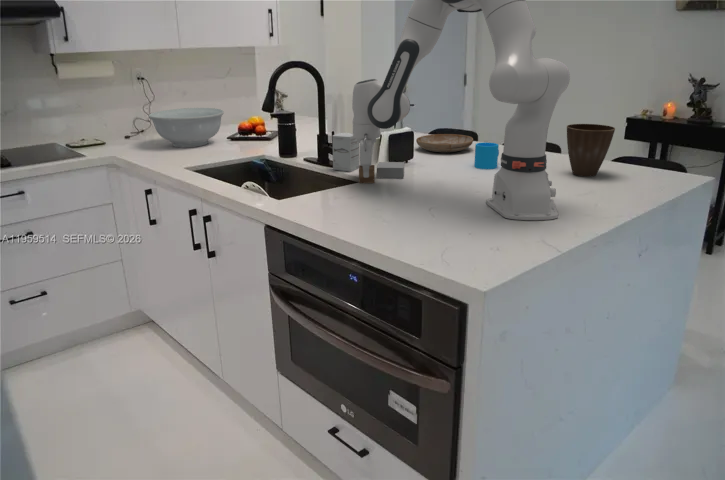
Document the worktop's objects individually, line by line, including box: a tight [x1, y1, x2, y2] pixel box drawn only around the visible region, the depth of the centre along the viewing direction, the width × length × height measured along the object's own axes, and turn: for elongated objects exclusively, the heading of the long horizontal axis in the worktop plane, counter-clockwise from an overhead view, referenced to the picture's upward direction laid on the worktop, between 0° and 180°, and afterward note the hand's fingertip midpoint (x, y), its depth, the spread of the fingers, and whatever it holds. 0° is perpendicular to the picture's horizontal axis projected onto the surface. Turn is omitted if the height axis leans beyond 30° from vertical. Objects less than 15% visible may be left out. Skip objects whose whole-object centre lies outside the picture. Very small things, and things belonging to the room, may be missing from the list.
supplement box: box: [332, 132, 360, 173], centre depth 197 cm, size 7×7×13 cm
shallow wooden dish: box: [415, 133, 474, 153], centre depth 230 cm, size 23×24×5 cm
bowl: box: [148, 107, 225, 148], centre depth 248 cm, size 32×32×15 cm
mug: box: [473, 142, 500, 170], centre depth 199 cm, size 12×8×8 cm
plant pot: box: [566, 123, 616, 178], centre depth 184 cm, size 15×15×16 cm
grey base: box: [376, 161, 405, 180], centre depth 189 cm, size 9×9×4 cm
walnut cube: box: [358, 164, 376, 184], centre depth 181 cm, size 5×5×5 cm
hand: (366, 173), depth 181 cm, fingers open, 8 cm apart
